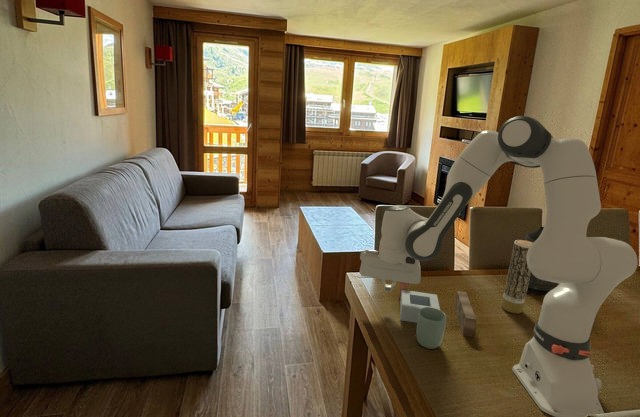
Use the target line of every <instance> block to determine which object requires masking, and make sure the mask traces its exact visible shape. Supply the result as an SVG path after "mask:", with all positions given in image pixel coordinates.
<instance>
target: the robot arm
mask: <svg viewBox="0 0 640 417" xmlns="http://www.w3.org/2000/svg"><path fill="white" fill-rule="evenodd" d="M507 162H509V163H511V164H514V165H516V166H521V167H525V168H529V169H531V168H532V169H537V168H540V169H541V171H542V176H543V177H542V178H543V187H544V195H545V205H546V206H545V207H546V214H545V215H546V218H545V222H544V226H543V227H544V228H543V231H542V233H541V235H540V236H539V237H538V239H537V240H536V241H535V242H533V243H532V244H531V246H530V247H529V249H528V251H527V256H526V260H527V265H528V268H529V270H530V271H531V273H532V274H533V275H534V276H535V277H536V278H538V279H541V280H545V281H550V282H555V283H558V286H557V287H556V288H554V289H552V290H551V291H549V292H548V293H547V294H546V295H544V296H543V301H542V305H541V308H540V313H539V316H538V320H537V321H535V325H534V328H533V337H532V338H531V339H529V341H527V342H526V343H525V345H524V348H523V349H522V350H523V351H522V353H521V357H520V360H519V363H516V364H514V365H513V366H512V372H513V373H514V375H515V376H516V378H517V379H518V380H519V382H520V383H521V385H523V388H524V389H525V390H526V392H527V393H528V394H529V396H530V397H531V399H532V400H533V401H534V403H535V404H536V405H537V407H538V408H539V409H540V410H541V411H542V412H544V413H546V414H548V415H550V416H552V417H585V416H586V415H589V414H598V413H604V414H605V412H604V409H603V407H602V404H601V402H600V399H599V398H598V397H599V391H598V390H601V388H602V384H603V383H602V380H601V379H600V378H597V377H595V374H594V370H595V365H594V364H591V359H590V358H589V357H590V356H591V353H592V351H591V348H592V347H591V345H592V344H591V337H590V336H591V335H590V334H591V332H592V329H593V326H594V322H595V320H596V316H597V314H598V312H599V310H600V308H601V307H602V304H603V303H604V302H605V300H606V299H607V298H608V296H610V294H611V293H612V291H613V290H614V289H615V288H616V287H617V286H618V285H619V284H621V283H622V282H623V281H625V280H626V279H628V278H629V277H631V276H633V275H634V273H635V272H636V270H637V268H638V256H637V253H636V251H635V250H634V248H633V246H631V245H630V243H627V242H625V241H623V240H619V239H616V238H610V237H607V236H606V237H605V236H587V231H588V226H589V223H590V221H591V220H592V219H593V218H595V217H597V216H598V214H599V213H600V211H601V210H602V204H601V198H600V196H601V195H600V191H599V185H598V179H597V178H598V177H597V172H596V168H595V167H596V166H595V164H594V160H593V157H592V155H591V152H590V150H589V147H588V145H587V144H586V142H584V141H583V140H582V139H579V138H575V137H574V138H573V137H565V138H562V139H561V138H560V139H559V138H558V139H556V138H554V137H553V135H552V134H551V133H550V131H549V130H548V129H547V128H546V126H544V125H543V124H542V123H541V122H540V121H539V120H538V119H536V118H533V117H532V116H531V117H530V116H528V115H517V116H514V117H511V118H509V119H508V120H506V121H505V122H504V123H503V124H502V125H501V127H500V128H499V130H498V131H495V130H491V129H489V130H488V129H487V130H483V131H481V132H479V133H477V135H476V136H475V137H474V138H473V139H472V140H471V141H470V142H469V143H467V145H466V146H465V148H464V149H463V150H462V151H461V152H460V153H459V155H458V156H457V158H456V159H455V160H454V162H453V163H452V165H451V167H450V169H449V172H448V173H447V176H446V183H445V190H444V193H443V196H442V198H441V200H440V202H439V203H438V205H437V206H436V207H435V209H434V210H433V212H432V213H431V215H430V216H429V217H426V216H425V217H424V216H423V215H420V214H419V213H417V212H415V211H414V210H412V209H411V208H410V207H409V206H407V205H402V204H396V205H392V206H389V207H388V208H387V209H386V210H385V211H384V212H383V213H384V214H383V218H382V222H381V231H380V232H381V238H380V240H379V246H378V247H379V249H378V250H371V249H364V250H362V251H361V252H360V256H359V259H360V261H361V263H360V267H359V274H360V275H361V277H367V278H373V279H380V280H381V281H380V282H381V284H382V286H383V291H384V292H391V293H392V292H393V289H394V288H395V287H396V285H397V282H400V283H401V282H405V283H409V284H412V285H414V284H415V285H419V283H421V279H422V276H421V275H422V273H421V272H422V271H421V265H420V261H421V262H427V261H431V260H434V258H436V257H437V256H438V255H439V254H440V251H441V249H442V246H443V245H442V244H443V240H444V237H445V235H446V234H447V232H448V231H449V230H450V228H451V227H452V225H453V224H454V222H455V221H456V220H457V219H458V217H459V216H460V214H461V213H462V211H464V209H465V207H466V206H467V205H468V204H469V202H470V201H472V199H473V198H474V197H475V196H476V195H477V193H478V192H480V191H481V189H482V188H483V187H484V186H486V184H487V183H488V181H489V180H490V179H491V177H492V176H493V175H494V174H495V173H496V171H497V170H498V169H499V168H500V167H501V166H502V165H503V164H504V163H507ZM386 281H391V284H387V283H386Z"/></svg>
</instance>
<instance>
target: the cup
mask: <svg viewBox="0 0 640 417" xmlns="http://www.w3.org/2000/svg"><path fill="white" fill-rule="evenodd" d="M446 324H447V314H446V313H445V312H444V311H443V310H441V309H440V310H438V309H436V308H431V307H424V308H422V309H420V311H419V314H418V320H417V323H416V329H415V331H416V333H415V335H416V340H417V342H418V343H419V345H421V346H422V347H424V348H425V349H430V350H433V349H437V348H439V347H440V345H441V344H442V342H443V340H444V335H445V330H446Z"/></svg>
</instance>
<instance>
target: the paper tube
mask: <svg viewBox="0 0 640 417" xmlns="http://www.w3.org/2000/svg"><path fill="white" fill-rule="evenodd" d="M532 243H533V242H530V241H526V239H525V240H524V239H516V240H514V243H513V247H512V252H511V256H510V257H511V258H510V263H509V267H508V272H507V276H506V282H505V286H504V291H503V296H502V301H501V308H502V309H503V310H504V311H506V312H508V313H510V314H522V312H523V310H524V306H525V303H526V302H525V301H526V297H527V293H528V292H527V289H528V284H529V280H530V275H531V271H530V270H529V268H528V265H527V260H526V256H527V251H528V249H529V247H530V246H531V244H532Z"/></svg>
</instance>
